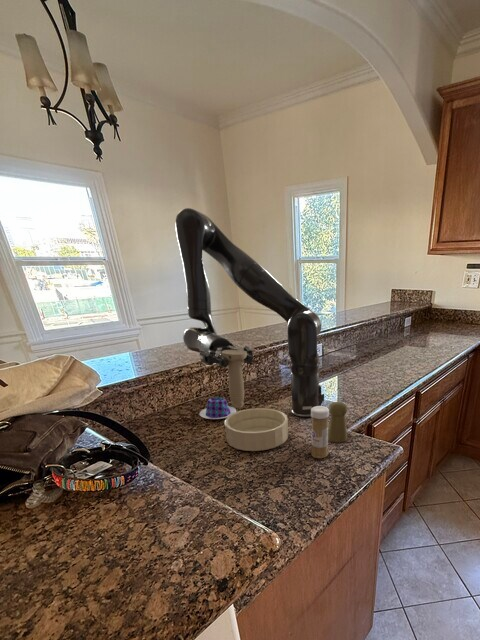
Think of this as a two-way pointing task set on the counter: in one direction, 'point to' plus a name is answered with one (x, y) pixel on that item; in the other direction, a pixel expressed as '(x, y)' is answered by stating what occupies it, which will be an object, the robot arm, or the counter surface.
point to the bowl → (256, 429)
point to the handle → (235, 376)
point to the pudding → (217, 409)
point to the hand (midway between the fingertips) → (237, 361)
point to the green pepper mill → (337, 422)
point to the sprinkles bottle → (319, 431)
